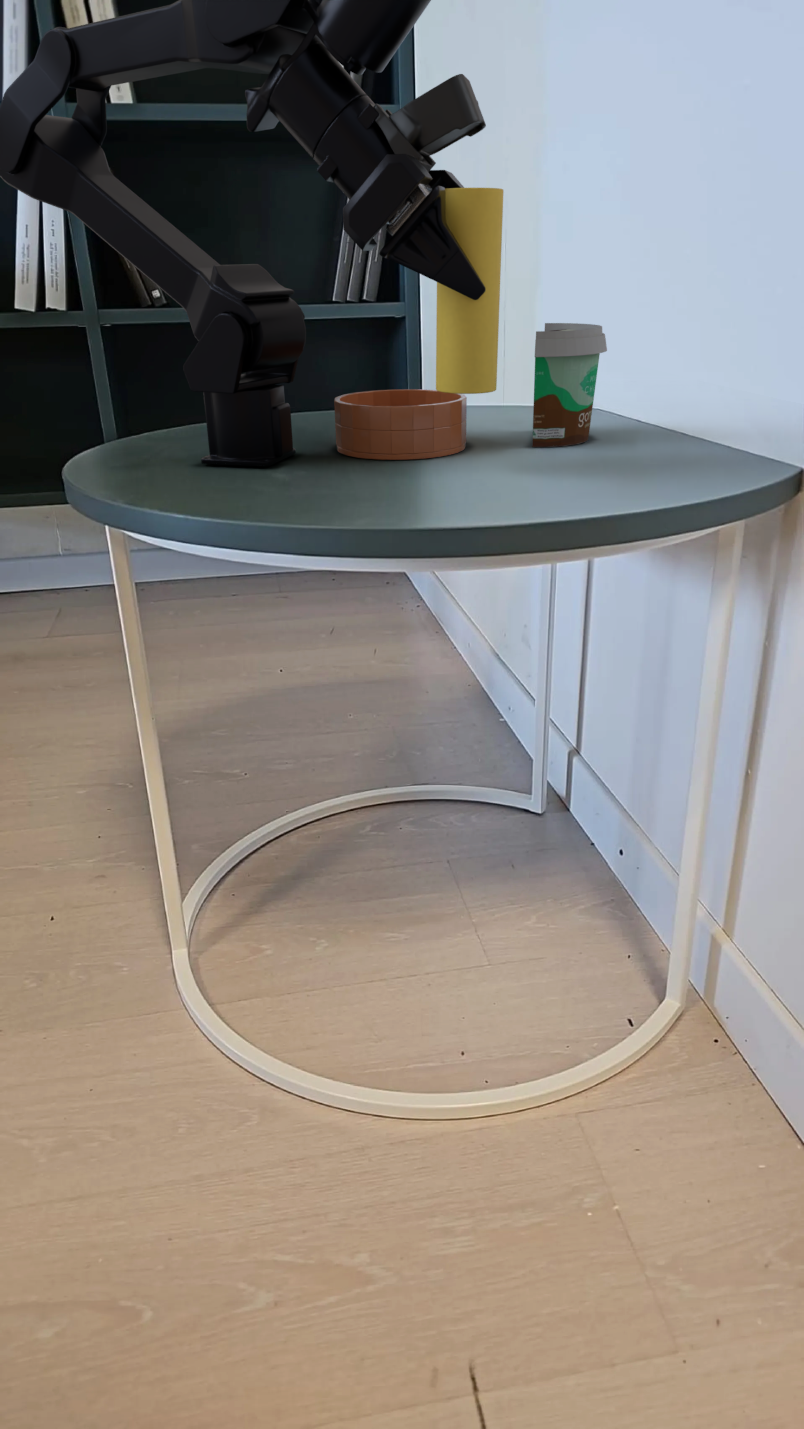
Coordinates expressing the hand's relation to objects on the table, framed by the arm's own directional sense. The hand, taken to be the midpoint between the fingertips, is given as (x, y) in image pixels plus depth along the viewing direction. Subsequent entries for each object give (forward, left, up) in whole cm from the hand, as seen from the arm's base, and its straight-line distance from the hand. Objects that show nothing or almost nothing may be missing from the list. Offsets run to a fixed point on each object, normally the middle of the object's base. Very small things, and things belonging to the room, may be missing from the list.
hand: (486, 294), depth 73 cm
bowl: (-10, +9, -13) cm, 19 cm away
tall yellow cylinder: (-1, 0, -7) cm, 7 cm away
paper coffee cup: (+5, +17, -14) cm, 22 cm away
